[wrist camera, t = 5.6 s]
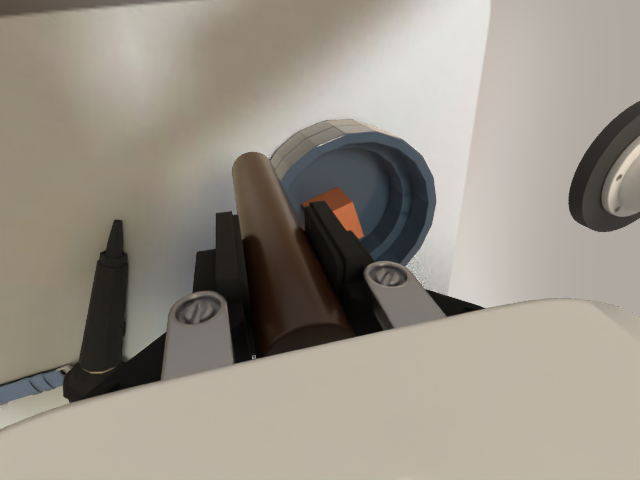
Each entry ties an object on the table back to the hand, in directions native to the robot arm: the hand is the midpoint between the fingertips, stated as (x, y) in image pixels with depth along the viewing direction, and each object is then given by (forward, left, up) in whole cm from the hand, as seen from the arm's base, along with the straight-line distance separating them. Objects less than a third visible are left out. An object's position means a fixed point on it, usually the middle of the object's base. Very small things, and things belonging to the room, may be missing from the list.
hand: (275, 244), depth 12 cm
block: (-8, +8, -18) cm, 21 cm away
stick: (0, 0, -9) cm, 9 cm away
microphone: (+11, +6, -18) cm, 22 cm away
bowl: (-9, +7, -19) cm, 22 cm away
